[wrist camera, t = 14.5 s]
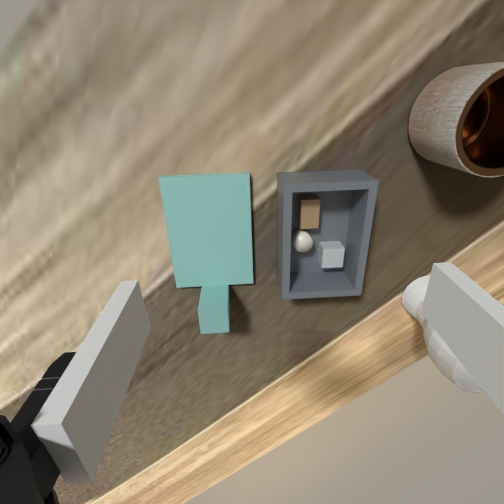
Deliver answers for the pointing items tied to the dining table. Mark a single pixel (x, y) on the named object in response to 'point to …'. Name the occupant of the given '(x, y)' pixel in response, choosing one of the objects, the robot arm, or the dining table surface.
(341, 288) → the tub
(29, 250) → the dining table surface
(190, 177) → the lid
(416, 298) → the cup
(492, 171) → the planter
